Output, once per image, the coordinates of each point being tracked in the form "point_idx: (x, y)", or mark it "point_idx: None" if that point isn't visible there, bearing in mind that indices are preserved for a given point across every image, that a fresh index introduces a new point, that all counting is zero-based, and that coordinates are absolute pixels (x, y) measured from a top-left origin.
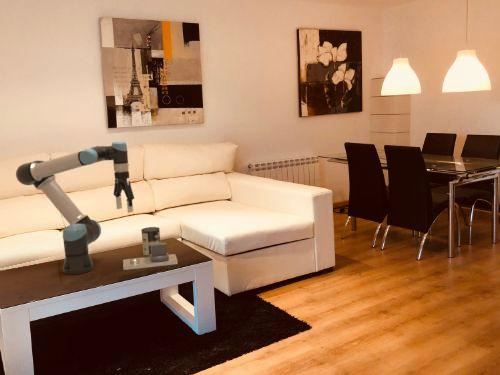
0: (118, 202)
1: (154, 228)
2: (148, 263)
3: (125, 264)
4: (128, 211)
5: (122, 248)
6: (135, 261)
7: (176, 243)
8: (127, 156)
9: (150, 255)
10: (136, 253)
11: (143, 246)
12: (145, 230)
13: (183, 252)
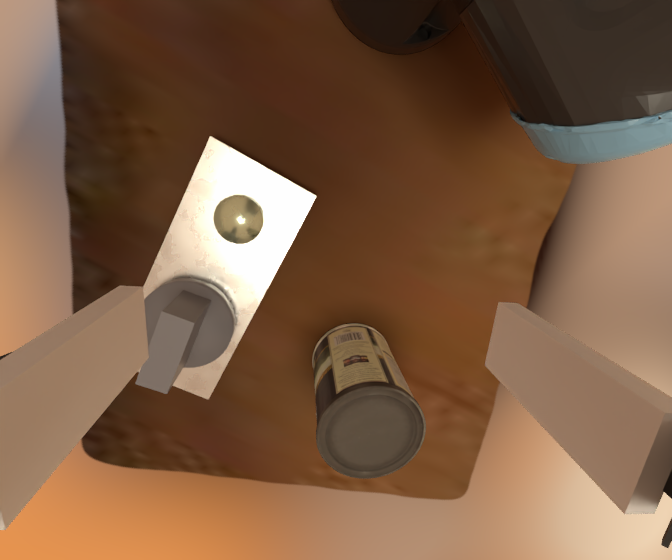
0: (556, 375)
1: (370, 457)
2: (162, 249)
3: (232, 162)
4: (108, 295)
5: (521, 305)
6: (214, 211)
7: (385, 480)
8: None
9: (210, 295)
10: (401, 310)
11: (363, 341)
12: (373, 404)
13: (252, 442)
